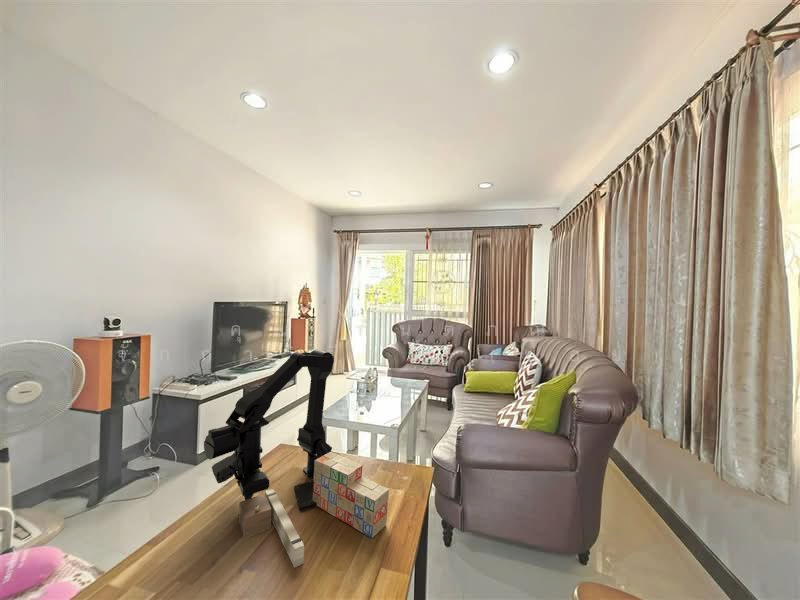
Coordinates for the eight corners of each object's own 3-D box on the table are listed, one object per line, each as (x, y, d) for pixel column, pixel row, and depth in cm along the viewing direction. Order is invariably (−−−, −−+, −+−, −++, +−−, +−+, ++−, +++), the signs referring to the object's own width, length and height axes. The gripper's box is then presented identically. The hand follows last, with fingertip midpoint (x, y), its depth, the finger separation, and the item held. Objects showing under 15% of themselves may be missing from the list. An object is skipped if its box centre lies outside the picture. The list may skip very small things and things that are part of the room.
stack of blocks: (387, 524, 81) (390, 477, 81) (372, 539, 76) (375, 488, 76) (328, 492, 93) (330, 450, 93) (311, 503, 87) (314, 459, 87)
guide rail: (264, 505, 86) (265, 490, 86) (272, 502, 88) (272, 487, 88) (294, 568, 67) (294, 548, 67) (303, 563, 69) (304, 544, 69)
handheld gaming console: (287, 485, 93) (308, 455, 95) (305, 492, 97) (325, 462, 99) (299, 513, 84) (323, 479, 86) (319, 519, 87) (341, 486, 90)
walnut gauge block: (238, 521, 80) (239, 497, 80) (263, 512, 84) (264, 489, 84) (244, 539, 75) (245, 513, 75) (270, 528, 78) (271, 504, 78)
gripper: (210, 438, 88) (208, 493, 88) (220, 469, 73) (218, 536, 73) (253, 429, 95) (251, 480, 95) (270, 456, 80) (268, 516, 80)
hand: (247, 501), depth 86 cm, fingers closed
